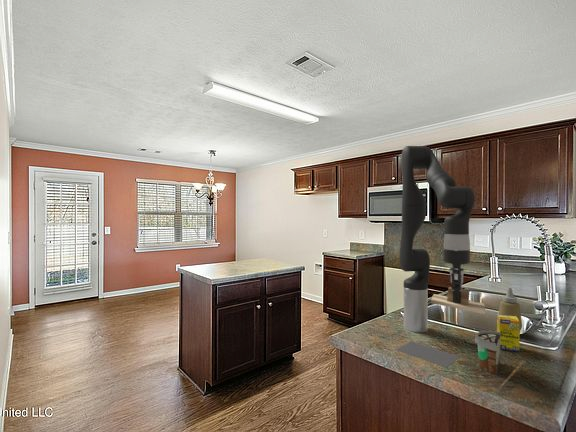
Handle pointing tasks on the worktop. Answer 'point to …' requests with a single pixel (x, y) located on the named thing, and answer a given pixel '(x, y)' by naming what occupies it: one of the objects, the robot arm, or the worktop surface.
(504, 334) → the supplement box
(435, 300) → the lid
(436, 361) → the mat
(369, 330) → the worktop surface
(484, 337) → the food container
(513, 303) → the squeeze bottle
